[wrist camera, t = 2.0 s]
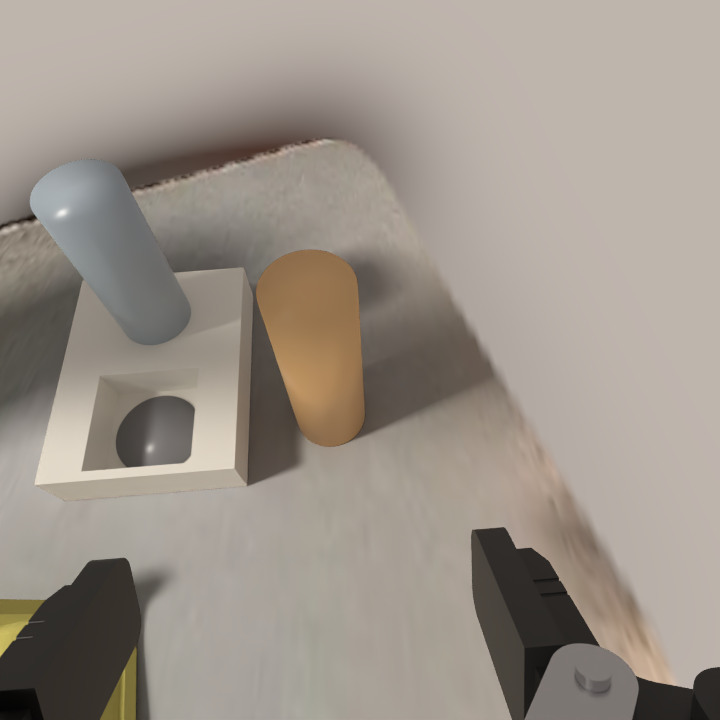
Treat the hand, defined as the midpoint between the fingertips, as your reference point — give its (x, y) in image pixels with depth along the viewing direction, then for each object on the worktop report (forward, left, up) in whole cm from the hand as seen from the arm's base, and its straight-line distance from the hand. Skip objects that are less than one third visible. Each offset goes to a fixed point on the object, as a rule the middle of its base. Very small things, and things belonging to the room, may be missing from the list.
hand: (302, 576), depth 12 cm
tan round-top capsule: (-4, +10, -15) cm, 19 cm away
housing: (-14, +9, -15) cm, 23 cm away
